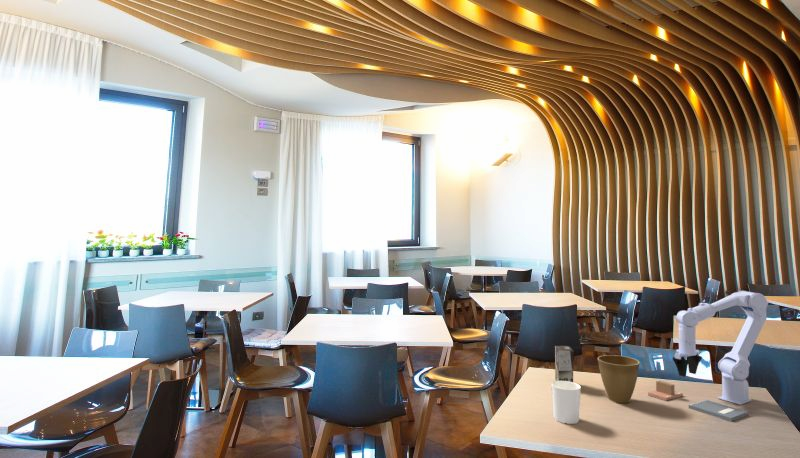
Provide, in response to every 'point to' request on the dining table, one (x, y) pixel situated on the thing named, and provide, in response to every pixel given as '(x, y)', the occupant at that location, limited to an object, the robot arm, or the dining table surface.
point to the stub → (665, 391)
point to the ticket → (718, 410)
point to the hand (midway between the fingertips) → (687, 374)
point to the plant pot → (618, 376)
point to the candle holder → (566, 401)
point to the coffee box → (563, 363)
